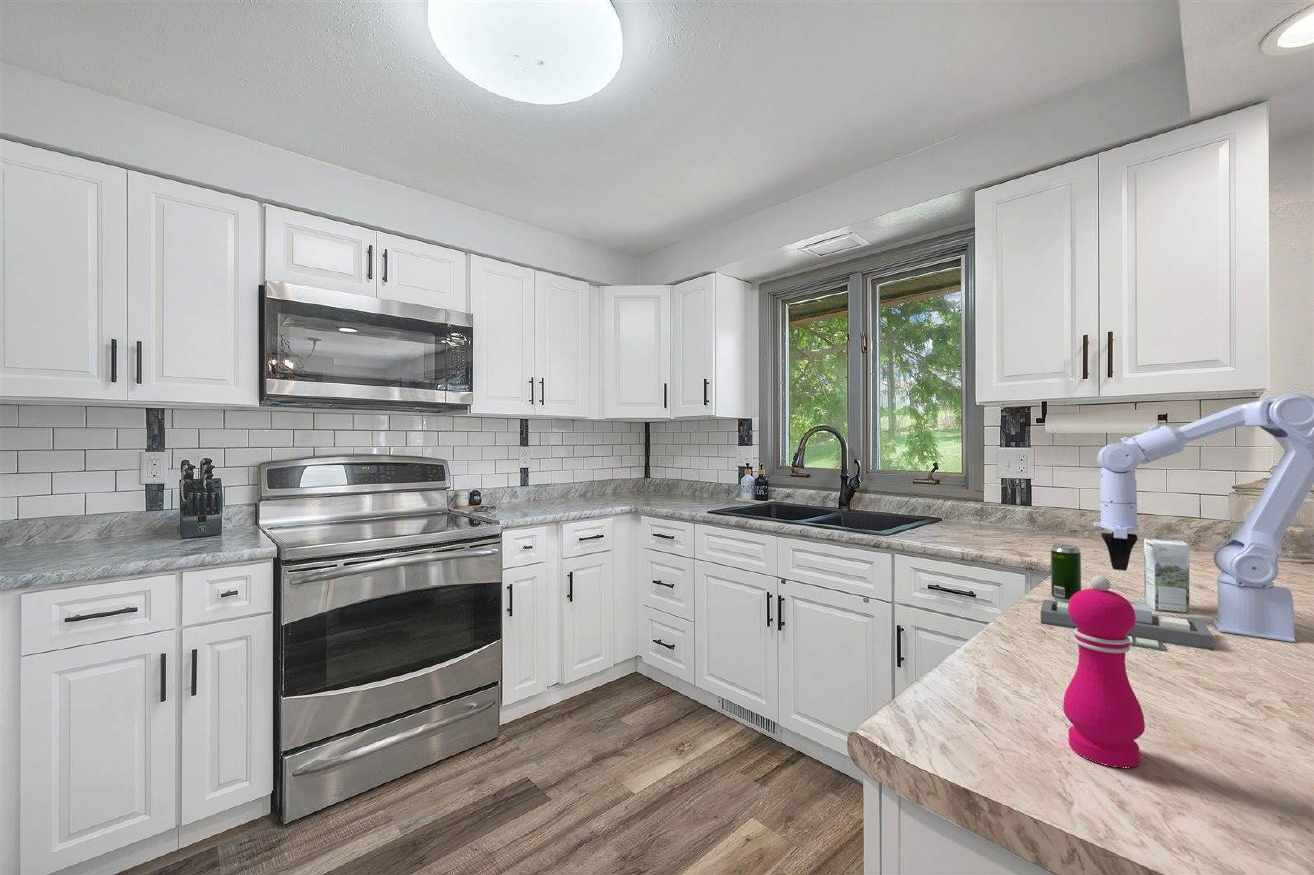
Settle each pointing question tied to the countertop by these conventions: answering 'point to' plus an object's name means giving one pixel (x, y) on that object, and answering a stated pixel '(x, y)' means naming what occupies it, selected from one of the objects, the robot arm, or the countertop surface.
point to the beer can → (1065, 571)
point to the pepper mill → (1103, 679)
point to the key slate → (1142, 613)
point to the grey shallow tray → (1141, 628)
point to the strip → (1146, 643)
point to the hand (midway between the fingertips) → (1119, 569)
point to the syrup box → (1166, 575)
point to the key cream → (1173, 622)
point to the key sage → (1062, 607)
